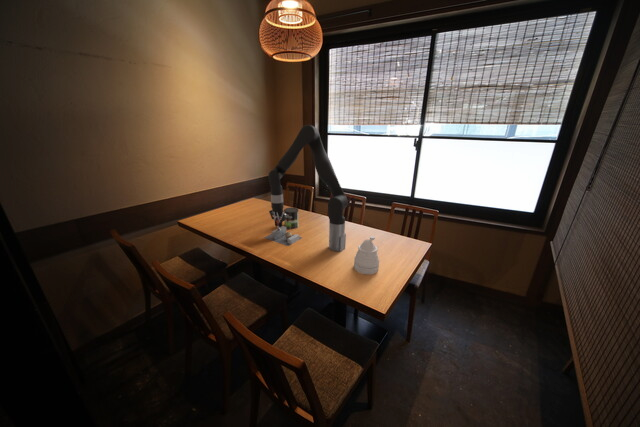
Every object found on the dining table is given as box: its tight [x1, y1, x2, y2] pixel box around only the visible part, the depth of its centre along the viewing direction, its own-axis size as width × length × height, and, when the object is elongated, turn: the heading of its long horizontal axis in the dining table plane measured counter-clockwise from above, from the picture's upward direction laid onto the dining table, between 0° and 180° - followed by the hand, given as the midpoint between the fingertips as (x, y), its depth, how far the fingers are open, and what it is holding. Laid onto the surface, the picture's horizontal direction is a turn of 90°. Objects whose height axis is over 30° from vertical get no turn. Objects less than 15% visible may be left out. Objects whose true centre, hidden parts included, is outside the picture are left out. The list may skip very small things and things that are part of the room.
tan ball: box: [286, 231, 293, 238], centre depth 158 cm, size 4×4×4 cm
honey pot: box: [353, 235, 380, 275], centre depth 129 cm, size 13×13×18 cm
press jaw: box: [270, 219, 288, 240], centre depth 161 cm, size 3×11×12 cm, turn 146°
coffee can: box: [283, 206, 300, 230], centre depth 178 cm, size 10×10×14 cm
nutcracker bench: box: [263, 233, 302, 247], centre depth 162 cm, size 21×14×4 cm, turn 56°
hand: (278, 226), depth 161 cm, fingers closed on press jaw, 2 cm apart
